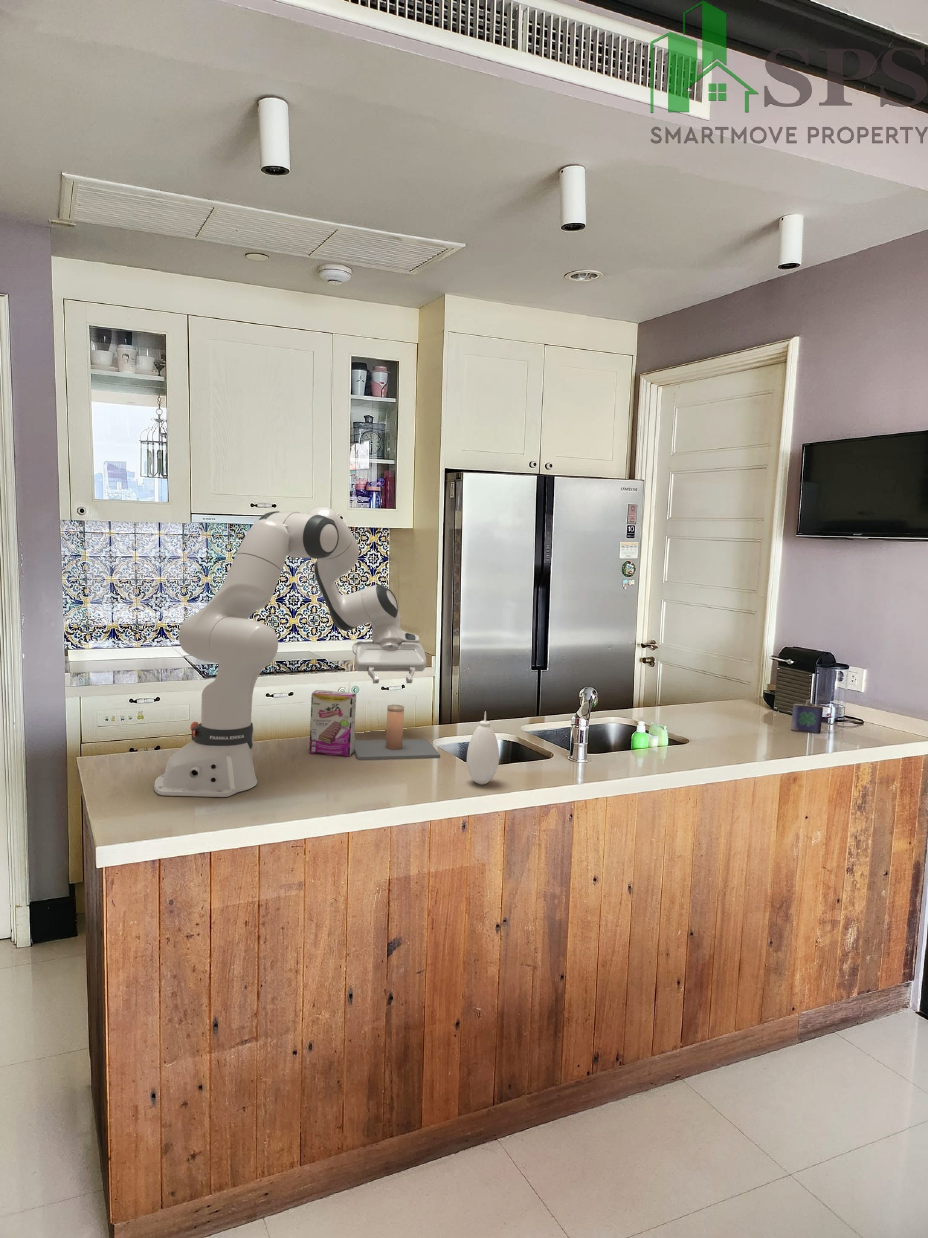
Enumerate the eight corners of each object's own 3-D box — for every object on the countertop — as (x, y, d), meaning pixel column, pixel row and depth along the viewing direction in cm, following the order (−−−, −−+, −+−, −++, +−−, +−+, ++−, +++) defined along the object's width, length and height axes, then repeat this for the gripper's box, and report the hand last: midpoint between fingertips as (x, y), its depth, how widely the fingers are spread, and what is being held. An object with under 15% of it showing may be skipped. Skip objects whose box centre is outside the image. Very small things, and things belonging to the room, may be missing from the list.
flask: (791, 731, 274) (794, 699, 272) (789, 729, 276) (793, 697, 275) (821, 734, 271) (824, 702, 270) (819, 732, 274) (823, 700, 273)
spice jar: (387, 750, 224) (389, 708, 223) (384, 745, 229) (386, 704, 227) (403, 749, 225) (405, 708, 224) (400, 745, 230) (402, 704, 228)
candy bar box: (308, 754, 220) (310, 693, 218) (313, 749, 225) (315, 689, 223) (350, 757, 219) (352, 696, 217) (354, 752, 224) (356, 692, 222)
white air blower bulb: (498, 779, 206) (502, 708, 204) (496, 789, 199) (500, 715, 196) (467, 777, 207) (470, 706, 205) (463, 787, 199) (467, 713, 197)
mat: (358, 760, 217) (358, 757, 216) (349, 743, 232) (350, 740, 232) (440, 757, 222) (440, 754, 222) (427, 741, 238) (427, 738, 238)
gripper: (353, 635, 234) (356, 676, 226) (424, 635, 239) (430, 675, 231) (350, 648, 239) (354, 688, 231) (420, 648, 244) (426, 688, 236)
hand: (392, 682), depth 231 cm, fingers open, 8 cm apart
